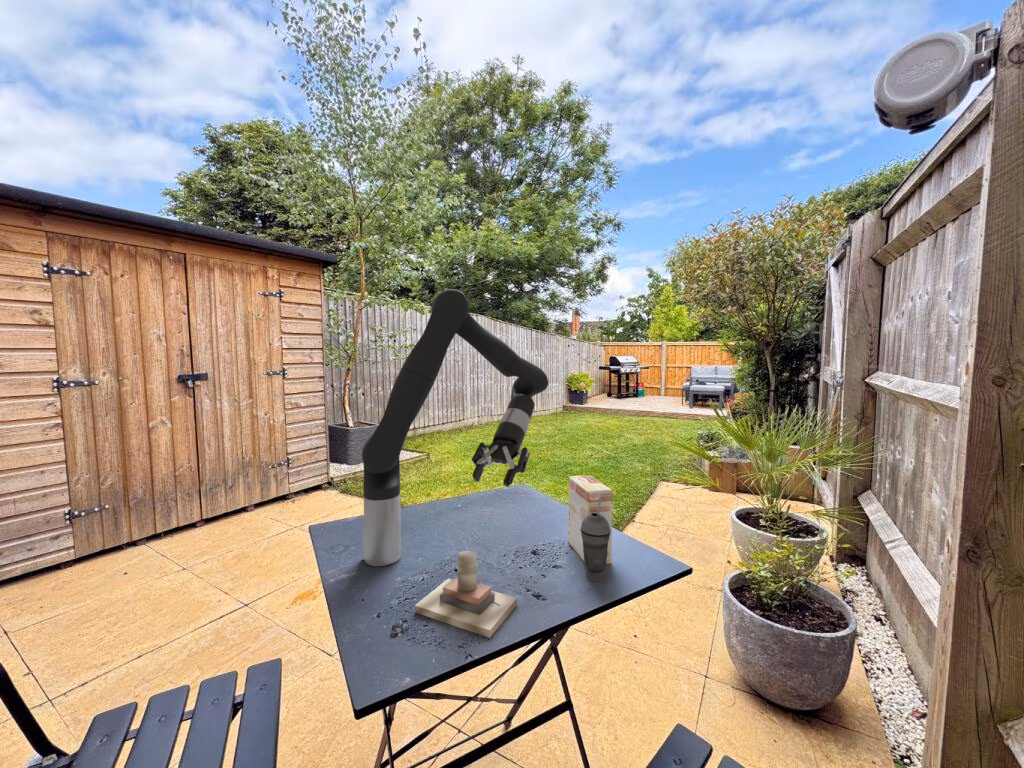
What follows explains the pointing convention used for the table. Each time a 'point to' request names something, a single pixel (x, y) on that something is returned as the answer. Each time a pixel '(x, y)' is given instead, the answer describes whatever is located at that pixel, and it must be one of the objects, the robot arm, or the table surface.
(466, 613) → the board
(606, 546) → the beverage cup
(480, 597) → the block
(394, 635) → the gravel pile
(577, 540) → the coffeecake box
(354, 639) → the table surface
